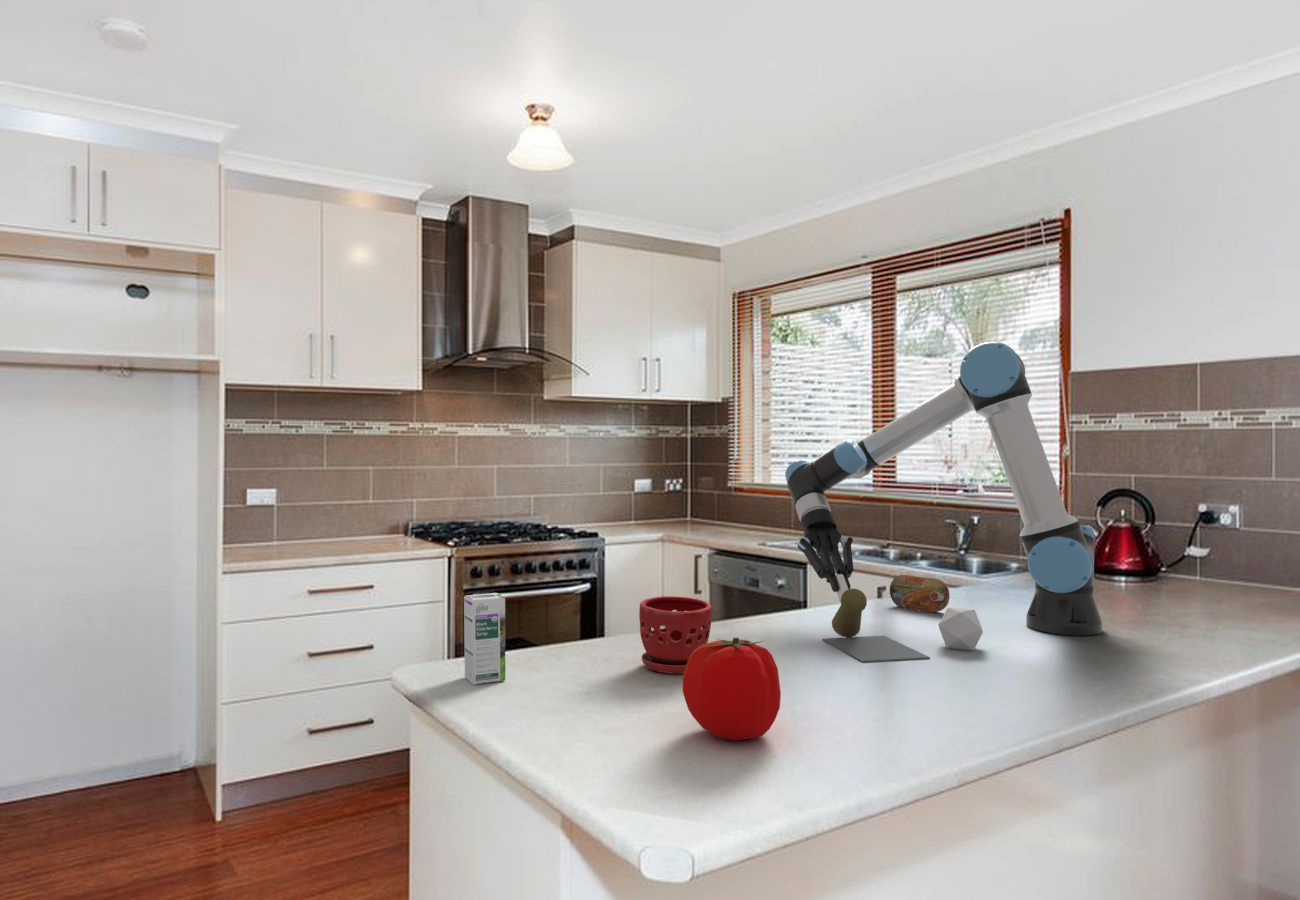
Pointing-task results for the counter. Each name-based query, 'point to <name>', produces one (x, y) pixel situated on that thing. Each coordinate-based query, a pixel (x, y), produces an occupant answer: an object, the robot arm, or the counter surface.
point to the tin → (919, 593)
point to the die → (960, 628)
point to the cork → (849, 613)
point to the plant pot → (673, 631)
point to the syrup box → (484, 638)
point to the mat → (875, 649)
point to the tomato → (732, 688)
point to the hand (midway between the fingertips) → (846, 602)
